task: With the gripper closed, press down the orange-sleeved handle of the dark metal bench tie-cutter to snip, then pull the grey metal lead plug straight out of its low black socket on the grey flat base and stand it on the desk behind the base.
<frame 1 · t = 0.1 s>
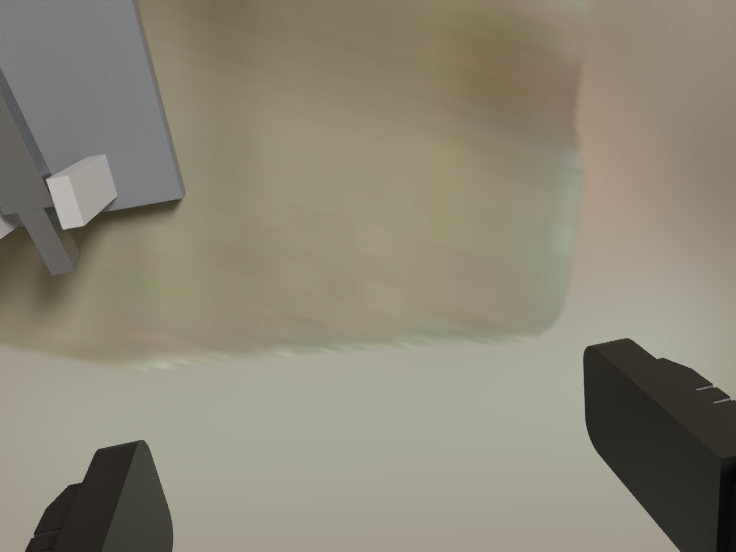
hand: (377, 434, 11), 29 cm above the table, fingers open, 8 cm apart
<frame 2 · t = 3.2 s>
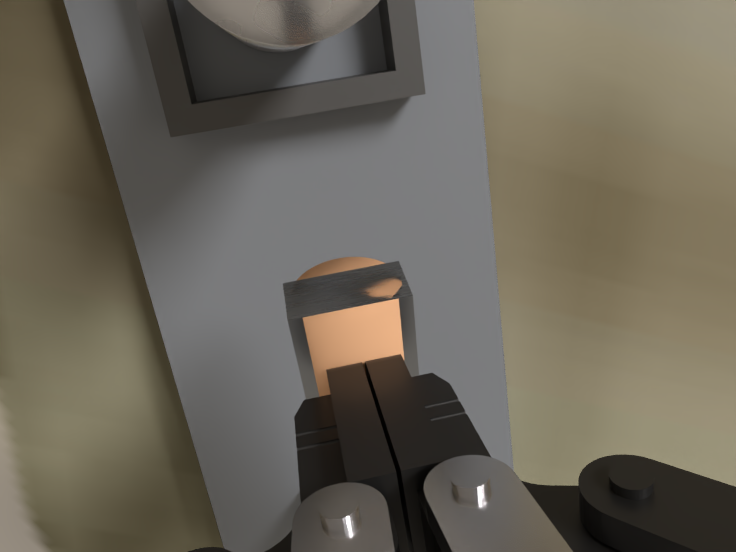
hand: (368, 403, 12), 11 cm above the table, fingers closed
grey flat base: (307, 171, 22), on the table
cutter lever: (383, 532, 17), point 8 cm above the table, hinge at 16.2°, touching gripper
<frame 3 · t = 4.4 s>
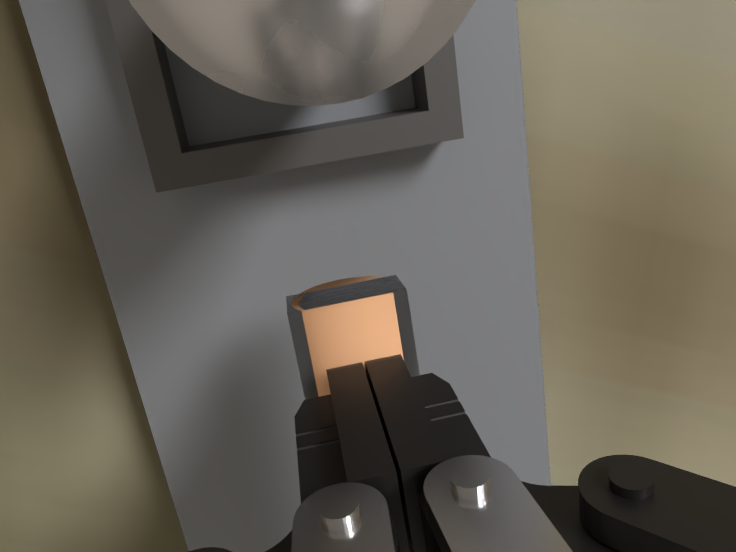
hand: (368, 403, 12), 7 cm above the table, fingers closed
grey flat base: (320, 224, 19), on the table
lead plug: (281, 3, 15), point 1 cm above the table, touching grey flat base
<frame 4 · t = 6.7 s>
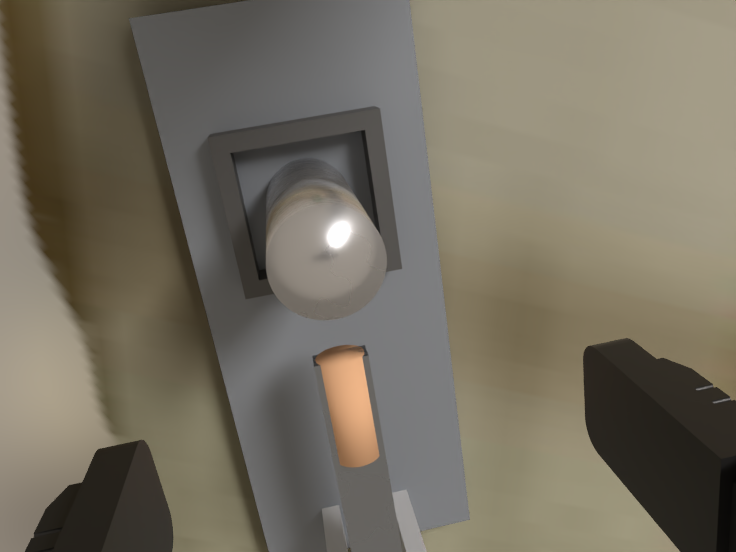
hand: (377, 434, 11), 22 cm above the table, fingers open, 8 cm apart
grey flat base: (327, 303, 34), on the table
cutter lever: (369, 515, 30), point 7 cm above the table, hinge at -3.2°
lead plug: (308, 200, 30), point 1 cm above the table, touching grey flat base
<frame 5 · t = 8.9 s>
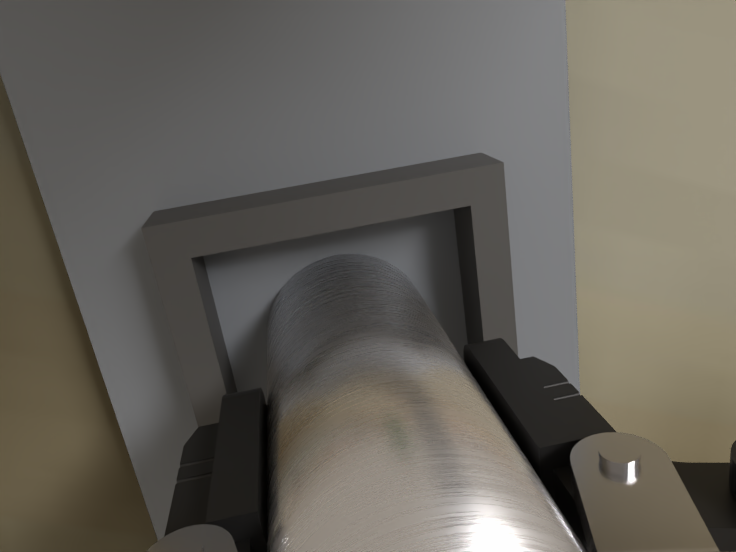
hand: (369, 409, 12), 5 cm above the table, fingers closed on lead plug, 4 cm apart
grey flat base: (373, 486, 19), on the table
lead plug: (348, 330, 16), point 1 cm above the table, touching gripper, grey flat base
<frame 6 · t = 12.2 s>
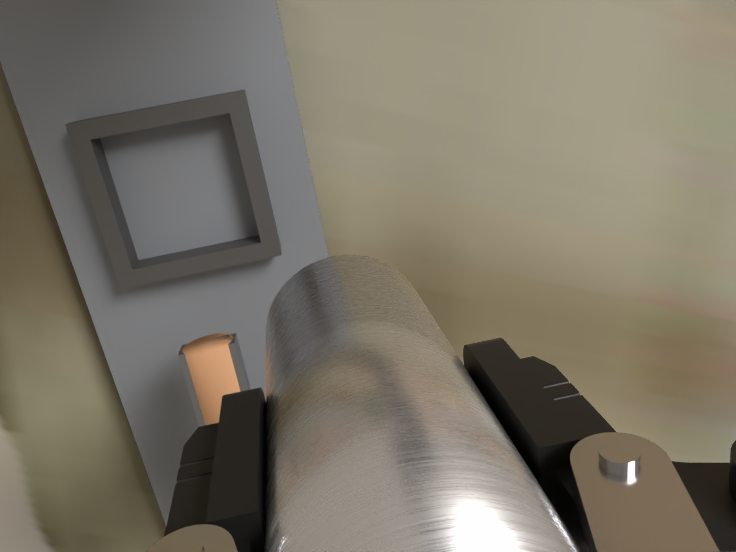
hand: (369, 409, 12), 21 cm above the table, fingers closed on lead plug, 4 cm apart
grey flat base: (218, 292, 33), on the table
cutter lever: (253, 507, 30), point 7 cm above the table, hinge at -3.2°
lead plug: (346, 331, 16), point 17 cm above the table, touching gripper
when the fingers open (6 cm above the table, at t = 16.0 s): lead plug drops 2 cm, on the table.
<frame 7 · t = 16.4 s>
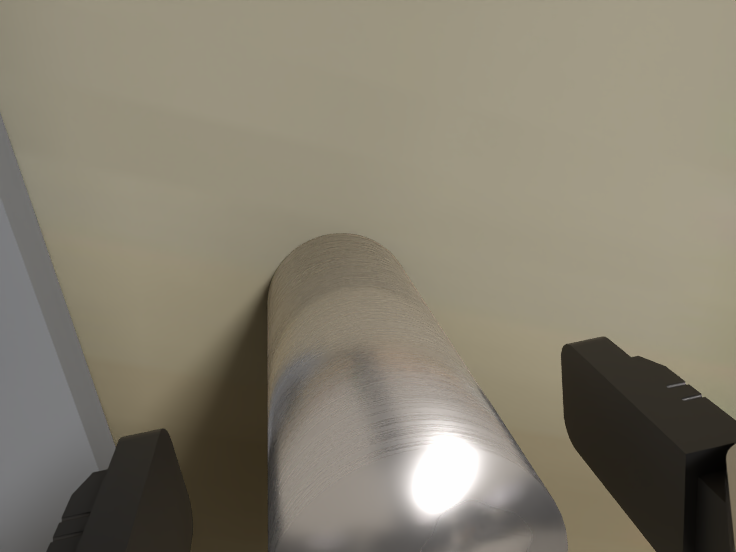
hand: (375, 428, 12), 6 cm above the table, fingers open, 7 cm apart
lead plug: (339, 302, 18), on the table
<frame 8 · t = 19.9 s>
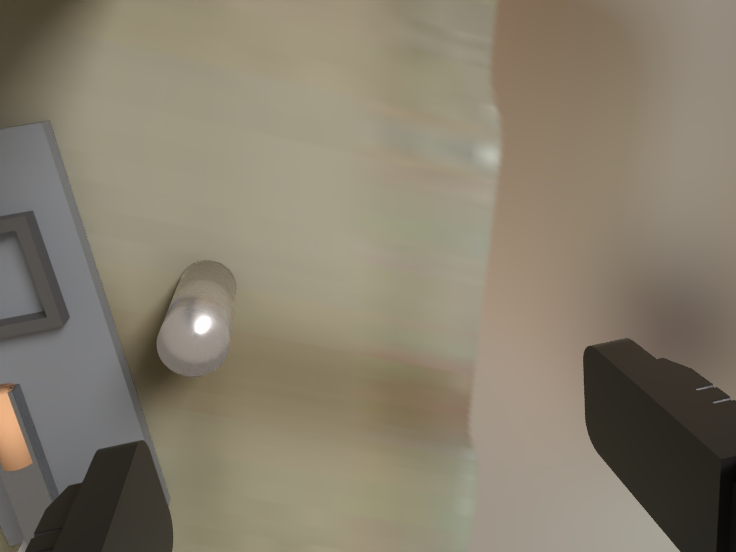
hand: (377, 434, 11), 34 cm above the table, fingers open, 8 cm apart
grey flat base: (31, 347, 45), on the table
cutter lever: (38, 506, 41), point 7 cm above the table, hinge at -3.2°
lead plug: (207, 287, 45), on the table
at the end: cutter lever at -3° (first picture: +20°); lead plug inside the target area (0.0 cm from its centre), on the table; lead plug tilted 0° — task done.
